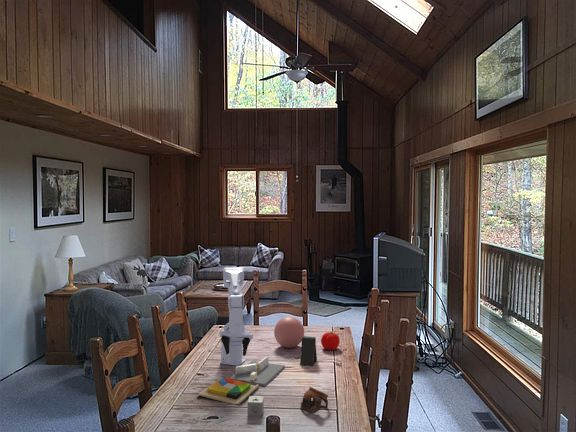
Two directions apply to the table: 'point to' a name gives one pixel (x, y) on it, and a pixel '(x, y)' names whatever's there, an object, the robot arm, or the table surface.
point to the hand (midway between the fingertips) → (236, 354)
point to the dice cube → (255, 406)
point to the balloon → (289, 332)
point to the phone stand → (308, 351)
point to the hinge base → (260, 373)
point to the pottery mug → (316, 402)
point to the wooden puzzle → (228, 390)
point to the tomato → (330, 341)
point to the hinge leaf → (246, 369)
